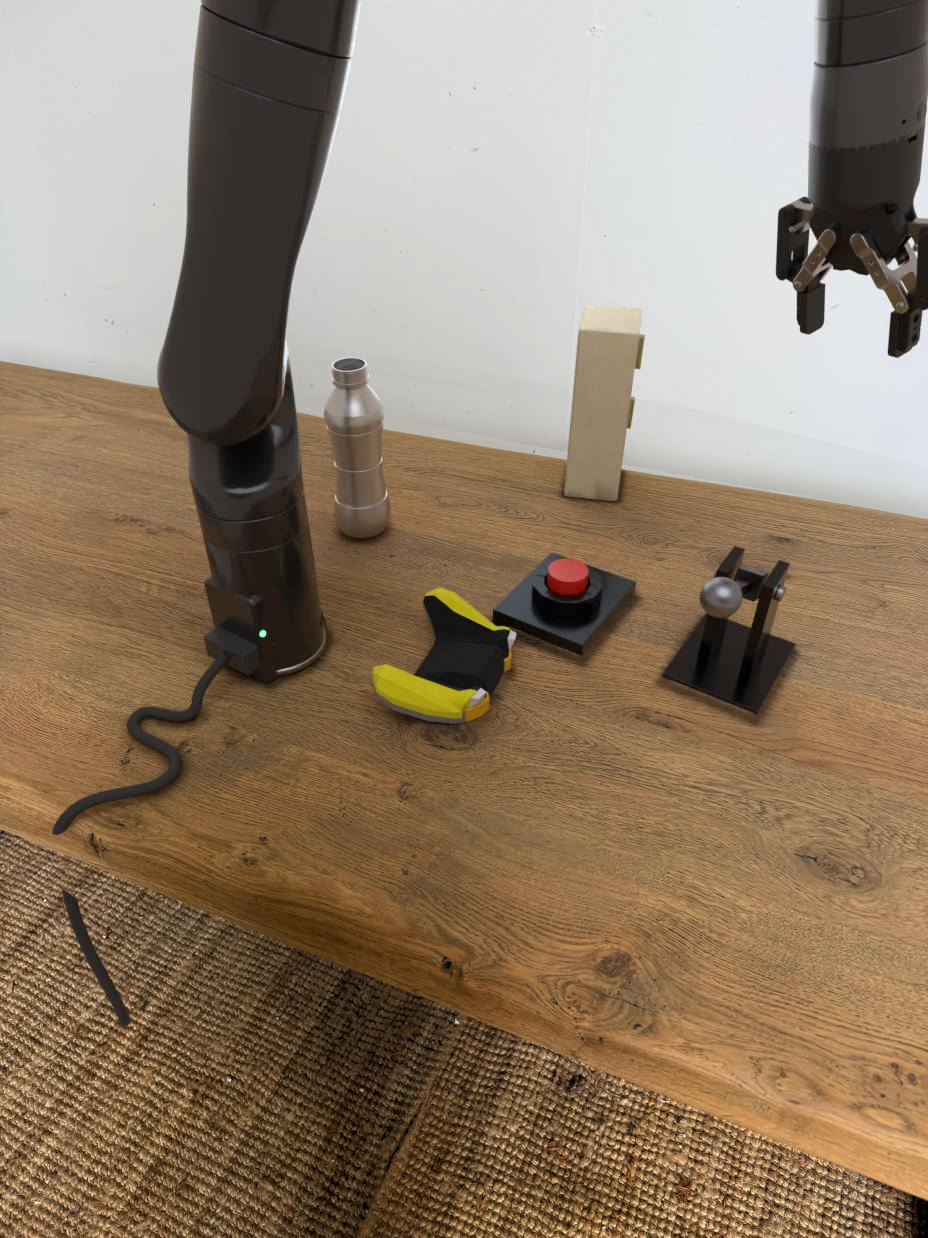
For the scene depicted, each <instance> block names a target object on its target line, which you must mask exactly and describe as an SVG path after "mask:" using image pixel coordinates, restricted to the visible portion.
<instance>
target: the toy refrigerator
mask: <svg viewBox="0 0 928 1238" xmlns="http://www.w3.org/2000/svg"><path fill="white" fill-rule="evenodd" d="M642 314H643V310H642V308H638V307H626V306H611V305H597V304H586V305H585V306H584V307H583V311H582V315H581V319H580V323H579V326H578V331H577V342H576V354H575V365H574V377H573V387H572V398H571V399H572V400H571V401H572V402H571V411H570V422H569V434H568V445H567V457H566V466H565V476H564V490H563V493H564V494H563V495H564V496H565V497H568V498H569V497H570V498H580V499H587V500H596V501H597V500H598V501H606V502H607V501H608V502H617V500H618V496H619V491H620V490H619V489H620V482H621V474H622V469H623V468H622V467H623V459H624V452H625V445H626V437H627V429H632V423H633V417H634V416H633V415H634V410H635V402H636V397H635V396H632V393H633V392H632V390H633V384H634V375H635V370H640V369H642V368H641V367H642V360H643V353H644V346H645V339H646V335H645V334H641V333H640V332H641V323H642V316H643V315H642Z"/></svg>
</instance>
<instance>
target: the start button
mask: <svg viewBox="0 0 928 1238" xmlns="http://www.w3.org/2000/svg"><path fill="white" fill-rule="evenodd" d="M585 564H586V563H584V562H582V561H581V560H578V559H574V558H570V559H559V560H556V561H554V562H552V563H551V564H550V565H549V567H548V575H547V585H548V588H549V589H550V590H551V591H553V592H556V593H559V594H561V595H576V594H579V593H582V592H584V591H585V590H586V588H587V582H588V573H589V571H588V568H587V566H586V565H585Z"/></svg>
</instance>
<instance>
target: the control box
mask: <svg viewBox="0 0 928 1238" xmlns="http://www.w3.org/2000/svg"><path fill="white" fill-rule="evenodd" d="M559 559H571V558H570V557H567V556H565V555H561V554H559V553H555V552H553V551H551V552H550V553H549V554H548V555H546V557H545V558H544V559H542V561H541V562H540V563H539V564H538V565H536V567H535V568H534V569H533V570H531V571H530V573H529V574H527V575H526V576H525V577H524V578H523V580H521V581H520V582H519V583H518V584H517V585H516V586H515V587H514V588H513V589H512V590H511V591H510V592H509V593H508V594H507V595H506V596H505V597H504V598H503V599H502V600H501V601H500V602H499V603H498V604H497V605H495V607H494V608H493V609H492V623H493V624H494V625H495V626H504V627H508V628H509V629H510V628H512V629H514V630H517V631H518V632H521V633H524V634H526V635H529V636H531V637H534V638H537V639H539V640H541V641H544V642H545V643H549V644H551V645H553V646H556V647H559V648H561V649H563V650H566V651H569V652H570V653H573V654H575V655H577V656H580V657H581V656H583V655H584V654H585V653H586V651H587V650H588V649H589V648H590V647H591V646H592V644H593V643H594V642H595V641H596V640H597V639H598V637H599V636H600V635H601V634H602V632H603V631H604V630H605V629H606V628H607V626H608V625H609V624H610V623H611V621H613V619H614V618H615V617H616V615H617V614H618V613H619V612H620V611H621V610H622V608H623V607H625V605H626V604H627V603H628V602H629V600H630V599H631V598H632V596H633V595H634V594H635V593H636V589H637V581H635V580H632V579H629V578H626V577H624V576H621V575H617V574H616V573H612V572H609V571H607V570H604V569H601V568H598V567H595V566H592V565H589V564H587V563H584V564H585V565H586V566H587V568H588V571H589V573H588V582H587V588H586V590H585V591H584V592H582V593H579V594H576V595H561V594H559V593H556V592H553V591H551V590H550V589H549V588H548V585H547V575H548V567H549V565H550V564H551V563H552V562H554V561H556V560H559Z"/></svg>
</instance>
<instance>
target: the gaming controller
mask: <svg viewBox="0 0 928 1238" xmlns="http://www.w3.org/2000/svg"><path fill="white" fill-rule="evenodd" d="M422 608H423V610H424V613H425V615H426V618H427V620H428V623H429V626H430V630H431V632H432V635H433V639H434V642H433V644H432V645H431V647H430V649H429V651H428V652H427V654H426V656H425V657H424V658H423V660H422V662H421V663H420V665H419V666H418V668H417V669H416V671H415V673H414V674H411V672H407V671H405V670H403V669H400V668H397V667H395V666H393V665H390V664H387V663H385V664H380V665H376V666H373V667H372V673H371V674H372V678H371V681H372V682H371V684H372V688H373V693H374V694H375V697H376V699H377V700H379V701H380V702H382V703H383V704H384V705H386V706H387V707H388V708H389V709H391V710H392V711H395V712H397V713H401V714H404V715H407V716H411V717H414V718H417V719H420V720H424V721H426V722H432V723H441V724H451V725H452V724H453V725H457V724H463V723H470V722H472V721H474V720H475V719H478V718H480V717H482V716H483V715H484V714H486V713H487V712H488V711H489V710H490V699H491V697H492V696H493V693H494V692H495V690H496V688H497V686H498V684H499V682H500V681H501V678H502V676H503V675H504V673H505V672H507V671H509V670H510V669H511V668H512V647H513V646H514V645H513V644H514V642H515V641H516V637H517V632H515V631H514V630H512V629H510V627H509V628H508V627H504V626H495V625H494V624H493V621H492V622H491V621H490V620H489V619H488V618H487V617H486V616H484V615H483V614H482V613H481V612H479V610H477V609H476V608H474V607H473V605H471V604H469V603H468V602H467V601H466V600H465V599H464V598H462V597H461V595H460V596H459V595H458V594H457V593H456V592H455V591H451V590H449V589H446V588H443V587H437V588H435V589H432V590H429V591H428V592H426V593H425V594H424V597H423V600H422Z"/></svg>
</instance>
